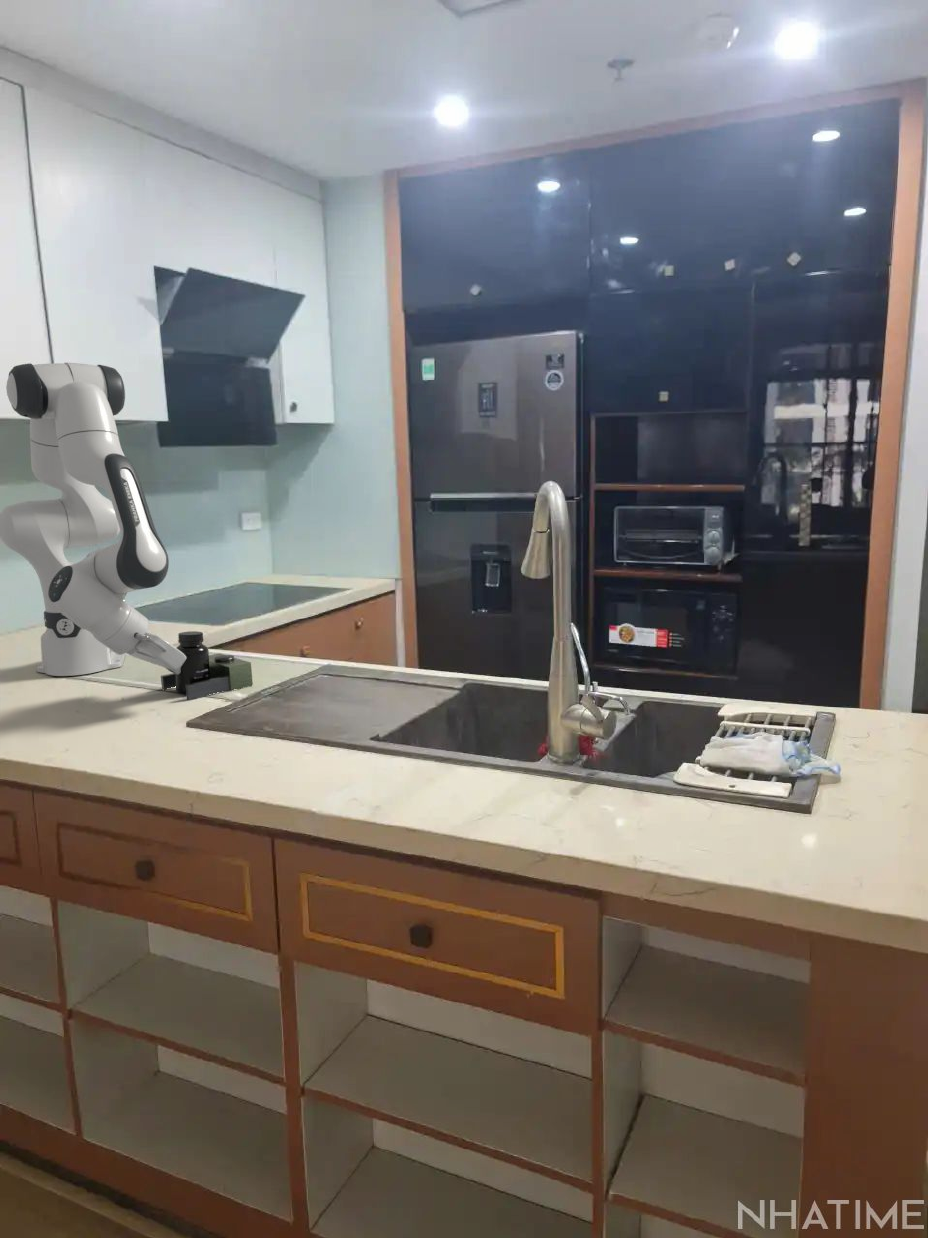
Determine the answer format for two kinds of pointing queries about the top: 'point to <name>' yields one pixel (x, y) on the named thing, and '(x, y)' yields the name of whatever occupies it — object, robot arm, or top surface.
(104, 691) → the top surface
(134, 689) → the top surface
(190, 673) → the supplement bottle
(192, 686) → the chute bracket
